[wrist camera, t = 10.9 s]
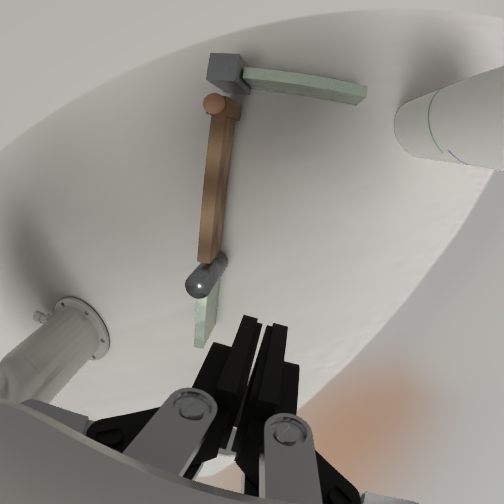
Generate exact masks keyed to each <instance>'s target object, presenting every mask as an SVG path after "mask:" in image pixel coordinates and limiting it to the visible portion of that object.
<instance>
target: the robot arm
mask: <svg viewBox="0 0 504 504" xmlns="http://www.w3.org/2000/svg"><path fill="white" fill-rule="evenodd" d="M33 318H34V320H36V321H38V322H40V323H44V325H42V326H41V327H40V328H39V329H37V330H36V331H35V332H34V333H32V334H31V335H30V336H29V337H27V338H26V339H25V340H24V341H23V342H21V343H20V344H19V345H18V346H16V347H15V348H14V349H13V350H12V351H11V352H9V353H8V354H7V355H6V356H5V357H4V358H3V359H2V360H1V362H0V504H418V503H416V502H413V501H409V500H403V499H398V498H392V497H388V496H384V495H379V494H375V493H371V492H367V491H366V492H365V493H364V494H363V493H359V492H358V490H357V489H356V488H355V487H354V486H353V485H352V484H351V483H350V482H349V481H348V480H347V479H345V478H344V477H343V476H342V475H341V474H340V473H339V472H338V471H337V470H335V468H334V467H332V466H331V465H330V464H329V463H328V462H327V461H326V460H325V459H324V458H323V457H322V456H321V455H320V454H319V453H318V452H317V451H316V450H315V447H314V441H313V435H312V431H311V428H310V426H309V425H308V424H307V422H306V421H304V420H303V419H302V418H300V417H298V416H296V412H297V399H298V384H299V365H297V364H293V363H289V362H285V361H284V355H285V347H286V339H287V331H288V327H287V326H283V325H279V324H276V323H273V326H268V325H267V327H266V330H265V333H264V336H263V340H262V343H261V346H260V349H259V352H258V356H257V359H256V362H255V365H254V368H253V371H252V375H251V378H250V381H249V385H248V389H247V392H246V396H245V400H244V404H243V407H242V411H241V415H240V419H239V422H238V426H237V430H236V433H235V437H234V441H233V444H232V448H231V451H232V452H236V456H235V460H234V461H236V463H237V465H238V466H239V467H240V468H241V470H242V471H243V473H242V478H241V493H237V492H233V491H229V490H224V489H221V488H217V487H213V486H210V485H206V484H203V483H200V482H196V481H194V480H195V478H196V477H197V475H198V473H199V472H200V470H201V468H202V467H203V464H204V462H205V461H208V460H211V459H213V458H216V457H217V454H218V451H219V448H221V449H225V450H226V448H227V445H228V442H229V439H230V436H231V433H232V430H233V427H234V424H235V421H236V418H237V415H238V412H239V409H240V406H241V403H242V399H243V396H244V393H245V389H246V385H247V382H248V378H249V374H250V370H251V367H252V363H253V359H254V355H255V351H256V347H257V343H258V340H259V336H260V332H261V328H262V324H261V323H257V320H258V319H257V318H254V317H250V316H246V315H243V318H242V321H241V323H240V326H239V329H238V332H237V334H236V337H235V340H234V342H233V345H232V347H229V346H226V345H223V344H219V343H216V342H214V343H213V344H212V346H211V348H210V350H209V352H208V355H207V357H206V359H205V361H204V363H203V365H202V367H201V369H200V371H199V374H198V376H197V378H196V380H195V382H194V384H193V386H192V388H182V389H179V390H177V391H175V392H173V393H172V394H171V395H170V396H169V397H168V399H167V400H166V401H165V402H164V404H163V405H162V406H161V407H158V408H154V409H149V410H145V411H140V412H136V413H131V414H126V415H121V416H116V417H111V418H105V419H101V420H98V421H91V420H89V418H88V416H84V415H81V414H77V413H74V412H71V411H68V410H65V409H62V408H59V407H56V406H53V405H50V404H49V403H50V402H51V401H52V399H53V398H54V397H55V396H56V395H57V394H58V393H59V392H60V390H61V389H62V388H63V387H64V386H65V385H66V384H67V383H68V382H69V380H70V379H71V378H72V377H73V376H74V375H75V374H76V373H77V372H78V371H79V369H80V368H81V367H82V366H83V365H84V364H85V363H86V362H87V361H88V360H99V359H101V358H102V357H103V356H104V355H105V354H106V353H107V351H108V349H109V337H108V333H107V330H106V328H105V325H104V324H103V322H102V320H101V319H100V317H99V316H98V315H97V313H96V312H95V311H94V310H93V309H92V308H91V307H89V306H88V305H87V304H86V303H84V302H83V301H81V300H78V299H76V298H72V297H66V298H63V299H62V300H60V301H59V302H58V303H57V304H56V305H55V307H54V311H53V314H51V315H50V314H47V315H45V314H44V313H42V312H40V311H35V312H34V315H33Z"/></svg>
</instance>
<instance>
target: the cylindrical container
mask: <svg viewBox="0 0 504 504" xmlns="http://www.w3.org/2000/svg"><path fill="white" fill-rule="evenodd" d="M394 130H395V135H396V137H397V140H398V142H399V143H400V145H401V146H402V148H403V149H404V150H405V151H406V152H408V153H409V154H411V155H412V156H415V157H417V158H424V159H431V160H439V161H446V162H453V163H460V164H466V165H472V166H478V167H483V168H489V169H494V170H499V171H504V66H502V67H499V68H496V69H493V70H490V71H487V72H484V73H482V74H479V75H476V76H473V77H470V78H468V79H465V80H462V81H460V82H457V83H454V84H452V85H449V86H446V87H444V88H441V89H439V90H436V91H434V92H431V93H429V94H426V95H424V96H421V97H419V98H416V99H414V100H411V101H409V102H407V103H405V104H404V105H402V106H401V107H400V109H399V110H398V112H397V114H396V116H395V121H394Z"/></svg>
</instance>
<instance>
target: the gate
mask: <svg viewBox="0 0 504 504" xmlns="http://www.w3.org/2000/svg"><path fill="white" fill-rule="evenodd" d="M203 106H204V109H205V110H206V113H207V114H210V115H212V117H211V125H210V133H209V141H208V150H207V158H206V168H205V177H204V187H203V197H202V208H201V220H200V232H199V245H198V258H197V261H198V262H203V263H209V264H210V263H211V261H212V260H213V259H214V258H215V256H216V255H217V254H218V253H219V251H220V246H221V237H222V227H223V218H224V208H225V199H226V190H227V182H228V173H229V165H230V156H231V148H232V140H233V133H234V125H235V120H237V121H240V113H241V105H239V104H238V103H236V102H235V101H233V100H232V99H230V98H229V97H227V96H221V95H220V94H217V93H212V94H209V95H208V96H207V97H206V98H205V99H204V102H203Z"/></svg>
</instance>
